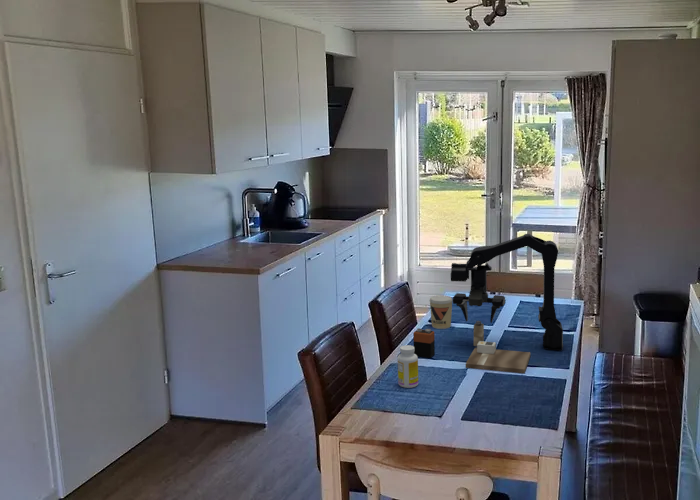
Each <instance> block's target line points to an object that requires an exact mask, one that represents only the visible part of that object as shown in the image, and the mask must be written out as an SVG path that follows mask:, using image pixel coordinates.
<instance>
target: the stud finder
mask: <svg viewBox="0 0 700 500" xmlns="http://www.w3.org/2000/svg"><path fill="white" fill-rule="evenodd" d="M496 345H497V343H496V342H493V341H479V342H478V344H477V346H476V348H477V353H488V354H494V353H495V351H496V349H497V348H496V347H497V346H496Z"/></svg>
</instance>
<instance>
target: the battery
mask: <svg viewBox="0 0 700 500" xmlns="http://www.w3.org/2000/svg"><path fill="white" fill-rule="evenodd" d="M412 335H413V347H414V348H415V351H414V354H416V355H417V357H422V358H428V359H431V358H432V357H434V355H435V353H436V352H435V351H436V350H435V349H436V347H435V331H433V330H431V328H426V329H422V328H419V327H418V328H417V329H416V330H415V331H414V332H413V334H412Z"/></svg>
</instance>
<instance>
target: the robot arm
mask: <svg viewBox="0 0 700 500" xmlns="http://www.w3.org/2000/svg"><path fill="white" fill-rule="evenodd" d="M526 247H527V248H530V249H532V250H534V251H535V252H537V253H538V254H541V259H542V263H543V299H542V300H543V301H542V302H543V303H542V306H538V322H539V323H540V324H541V327H542V328H543V329H545V330H544V333H543V334H542V346H543V349H544V350H550V351H552V350H553V351H563V349H564V342H563V341H564V329H563V325H562V322H561V321H560V320H559V319H558V318H557V314H556V308H555V268H556V264H557V260H558V257H559V256H558V254H559V249H558V247H557V244H556V242H555V241H552V240H544V239H542V238H541V237H540V238H539V237H537V236H534V235H532V234H531V233H524V234H523V235H521V236H517V237H514V238H511V239H509V240H505V241H503V242H499V243H497V244H493V245H484V246H483V245H481V246H477V247H474V248H473V249H472V250H471V252H470V253H471V254H470V258H469V259H468V260H466V263H456V262H453V263H452V262H451V265H450V266H451V270H450V282H467V281H468V280H470V290H469V295H466V293H461V292H460V293H459V292H456V293H455V294H454V295H453V296H452V300H453V301H452V305H453V304H454V305H456V306H457V307H459V309H461V311H462V315H463V317H464V319H465V321H466V322H468V321H469V318H468V317H469V315H468V313H469V312H468V305H469V306H471V307H473V306H476V307H482V306H483V304H484V303H485V304H486V303H488V304H491V305H492V306H491V307H490V309H491V310H490V318H489V319H490V320H489V321H490V323H491V324H492V323H493V322H494V321H493V320H494V317H495V315H496V312H497V310H498V309H500V308H502V307H504V305H505V303H506V296H504V295H496V294H495V295H493V297H489V294H488V292H487V291H488V289H487V288H488V287H487V286H488V285H487V275H488V274H487V273H488V272H489V271H492V266H491V265H490V264H489V263H488V262H490V261H491V260H493V259H494V258H496V257H499V256H502V255H504V254H507V253H508V254H509V253H511V252H513V251H516V250H519V249H522V248H526Z"/></svg>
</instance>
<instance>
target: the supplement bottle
mask: <svg viewBox="0 0 700 500" xmlns="http://www.w3.org/2000/svg"><path fill="white" fill-rule="evenodd" d="M399 351H400V354H398V356H397V381H398V386H400V387H401V388H405V389H407V388H408V389H411V388H416V387H417V386H418V385H419V358H418V357H419V356H417V355H416V354H414V351H415V348H414V345H410V344H409V345H408V344H407V345H401V346H400V347H399Z"/></svg>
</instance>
